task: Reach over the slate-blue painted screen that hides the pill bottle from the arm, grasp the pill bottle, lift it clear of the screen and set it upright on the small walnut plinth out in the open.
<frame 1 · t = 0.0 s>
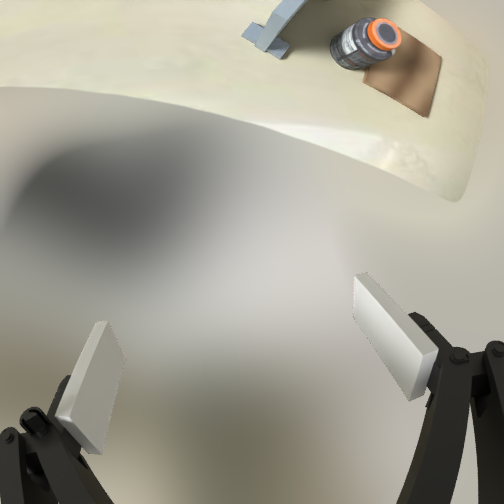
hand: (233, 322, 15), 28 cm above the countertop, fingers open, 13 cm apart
plinth: (403, 67, 36), on the countertop
screen: (291, 10, 32), on the countertop
pill bottle: (347, 52, 35), on the countertop
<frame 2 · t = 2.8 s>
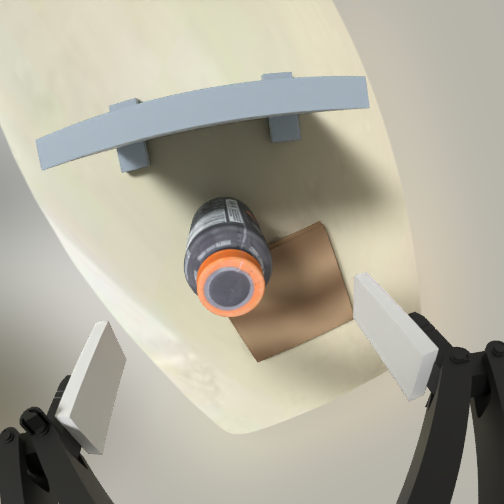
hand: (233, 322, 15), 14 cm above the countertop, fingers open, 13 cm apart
plinth: (285, 295, 31), on the countertop
screen: (204, 118, 24), on the countertop
pill bottle: (223, 227, 28), on the countertop
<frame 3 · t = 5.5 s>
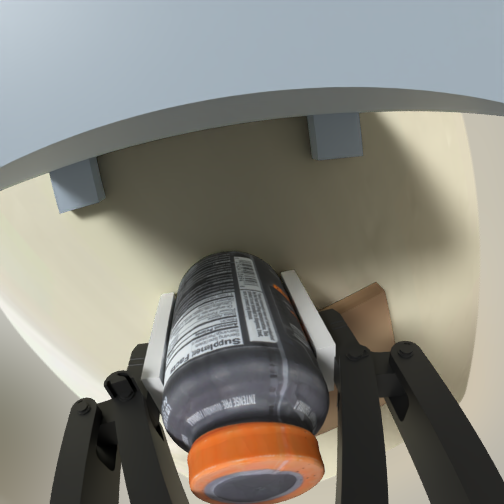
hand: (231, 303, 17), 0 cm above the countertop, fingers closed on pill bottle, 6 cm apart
plinth: (317, 379, 21), on the countertop
screen: (195, 114, 13), on the countertop
pill bottle: (230, 295, 17), on the countertop, touching gripper
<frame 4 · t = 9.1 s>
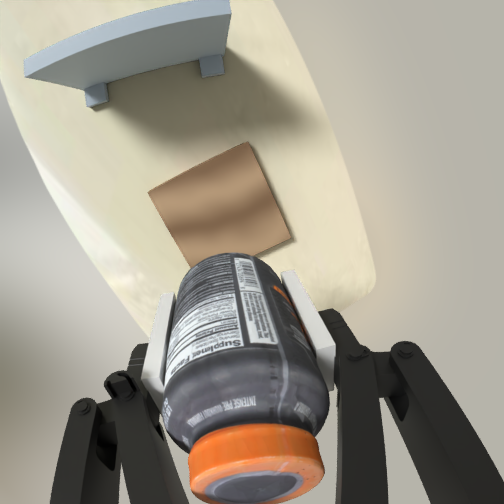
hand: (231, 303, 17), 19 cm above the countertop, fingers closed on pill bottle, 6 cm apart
plinth: (220, 212, 34), on the countertop
screen: (150, 63, 27), on the countertop
pill bottle: (230, 296, 17), point 19 cm above the countertop, touching gripper
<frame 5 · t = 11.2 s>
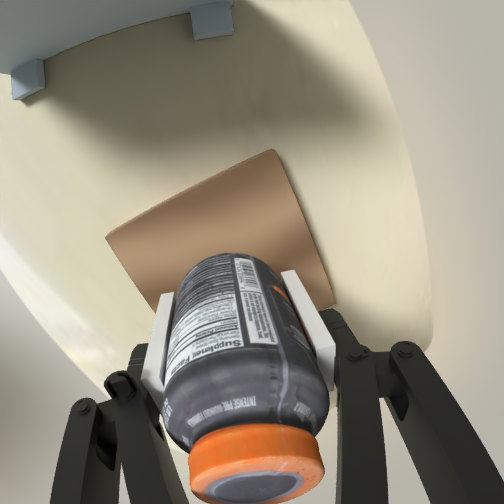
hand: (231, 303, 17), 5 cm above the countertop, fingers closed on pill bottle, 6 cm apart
plinth: (226, 266, 21), on the countertop
screen: (109, 23, 14), on the countertop
pill bottle: (230, 296, 17), point 4 cm above the countertop, touching gripper
when the fingers open (2 cm above the countertop, at t = 12.8 s): pill bottle stays where it is, resting on plinth.
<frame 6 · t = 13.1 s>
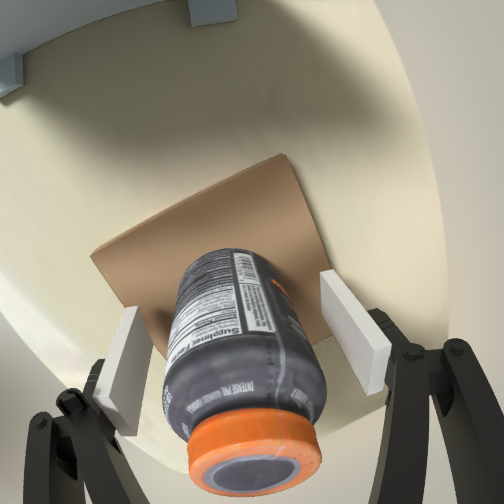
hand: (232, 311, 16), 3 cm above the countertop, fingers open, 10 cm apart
plinth: (229, 287, 19), on the countertop
screen: (95, 10, 11), on the countertop
pill bottle: (229, 291, 18), point 1 cm above the countertop, touching plinth
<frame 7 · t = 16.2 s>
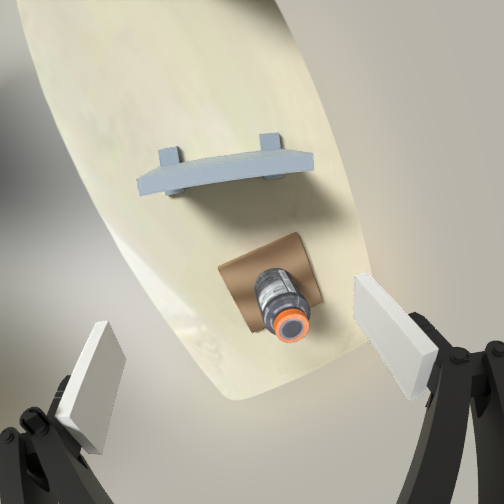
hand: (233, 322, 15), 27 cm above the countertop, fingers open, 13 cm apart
plinth: (272, 283, 45), on the countertop
screen: (221, 162, 38), on the countertop
pill bottle: (273, 284, 44), point 1 cm above the countertop, touching plinth
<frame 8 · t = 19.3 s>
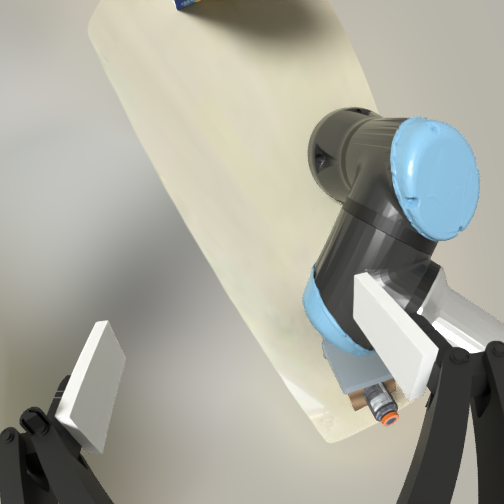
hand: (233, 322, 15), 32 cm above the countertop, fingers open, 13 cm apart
plinth: (370, 385, 66), on the countertop
screen: (358, 335, 58), on the countertop
pill bottle: (372, 387, 65), point 1 cm above the countertop, touching plinth
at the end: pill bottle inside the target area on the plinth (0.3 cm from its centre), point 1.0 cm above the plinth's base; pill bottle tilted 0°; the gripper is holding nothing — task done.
